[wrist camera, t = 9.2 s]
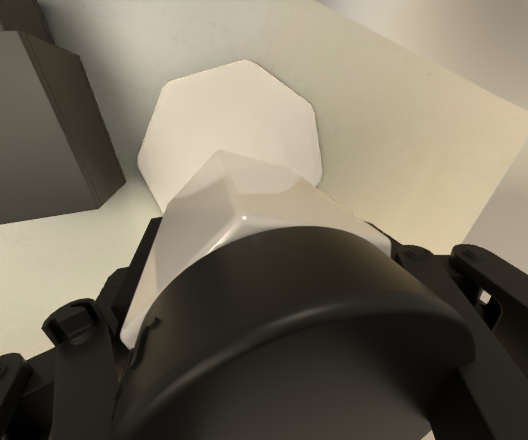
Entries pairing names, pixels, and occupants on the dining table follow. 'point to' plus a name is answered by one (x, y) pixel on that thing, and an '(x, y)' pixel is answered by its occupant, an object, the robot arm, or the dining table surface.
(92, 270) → the dining table surface
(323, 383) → the jar
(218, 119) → the plate
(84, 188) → the dark grey box
